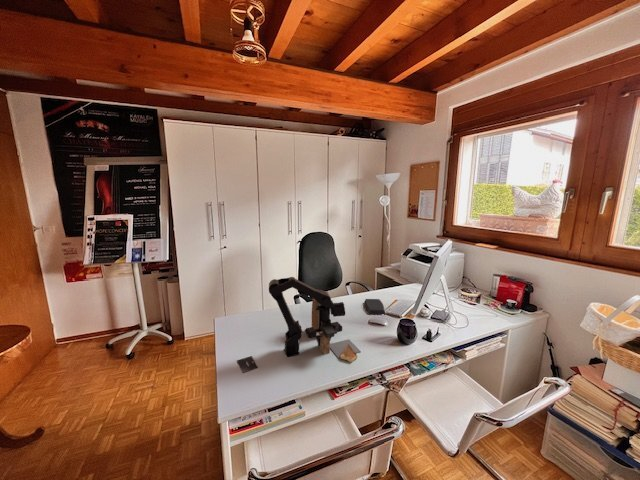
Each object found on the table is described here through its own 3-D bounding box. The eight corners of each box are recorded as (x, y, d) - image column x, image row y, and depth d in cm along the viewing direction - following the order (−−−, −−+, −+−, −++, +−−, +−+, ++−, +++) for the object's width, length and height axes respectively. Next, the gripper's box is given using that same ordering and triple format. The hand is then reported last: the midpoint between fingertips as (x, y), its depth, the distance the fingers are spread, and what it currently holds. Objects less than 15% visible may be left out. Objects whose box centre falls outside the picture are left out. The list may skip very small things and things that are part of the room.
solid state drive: (251, 357, 129) (251, 355, 128) (258, 368, 120) (258, 367, 120) (237, 361, 125) (237, 360, 125) (242, 374, 117) (242, 372, 117)
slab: (324, 354, 131) (324, 338, 129) (317, 345, 138) (317, 330, 136) (329, 353, 132) (329, 336, 130) (322, 344, 139) (323, 329, 138)
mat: (338, 358, 128) (338, 357, 128) (327, 345, 139) (327, 344, 139) (360, 352, 133) (360, 351, 133) (348, 339, 144) (348, 339, 144)
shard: (347, 346, 137) (348, 343, 136) (361, 351, 133) (362, 347, 133) (339, 358, 127) (339, 355, 127) (354, 363, 124) (354, 360, 124)
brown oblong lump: (310, 330, 153) (310, 298, 150) (321, 327, 157) (322, 295, 153) (319, 339, 144) (319, 305, 140) (331, 335, 148) (331, 302, 144)
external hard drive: (380, 303, 192) (381, 298, 192) (387, 315, 173) (387, 310, 173) (363, 302, 193) (363, 297, 192) (367, 315, 174) (367, 309, 173)
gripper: (313, 328, 121) (312, 358, 124) (348, 320, 128) (347, 349, 131) (304, 317, 131) (304, 345, 134) (337, 310, 138) (336, 337, 141)
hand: (323, 344), depth 135 cm, fingers open, 5 cm apart
